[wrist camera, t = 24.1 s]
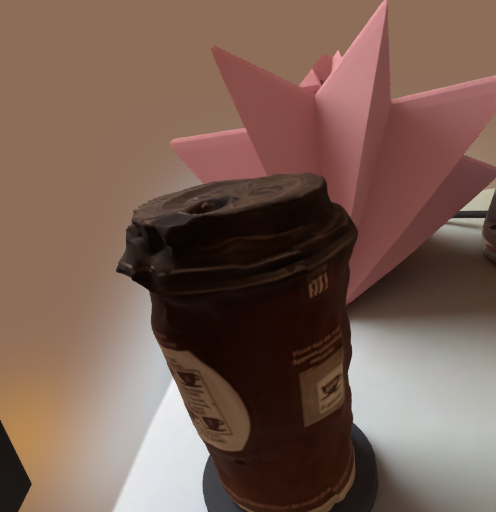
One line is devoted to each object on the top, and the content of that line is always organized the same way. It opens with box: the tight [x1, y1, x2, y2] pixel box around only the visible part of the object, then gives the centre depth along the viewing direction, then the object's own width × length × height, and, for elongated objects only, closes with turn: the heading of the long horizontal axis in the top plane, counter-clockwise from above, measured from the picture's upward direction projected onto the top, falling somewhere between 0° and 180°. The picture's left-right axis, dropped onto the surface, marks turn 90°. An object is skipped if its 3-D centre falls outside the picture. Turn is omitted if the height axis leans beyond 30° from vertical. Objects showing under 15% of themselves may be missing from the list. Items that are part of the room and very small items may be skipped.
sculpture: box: [170, 0, 496, 306], centre depth 38 cm, size 28×20×21 cm
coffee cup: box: [116, 173, 358, 512], centre depth 18 cm, size 9×8×13 cm
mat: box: [203, 423, 378, 512], centre depth 20 cm, size 8×8×1 cm
